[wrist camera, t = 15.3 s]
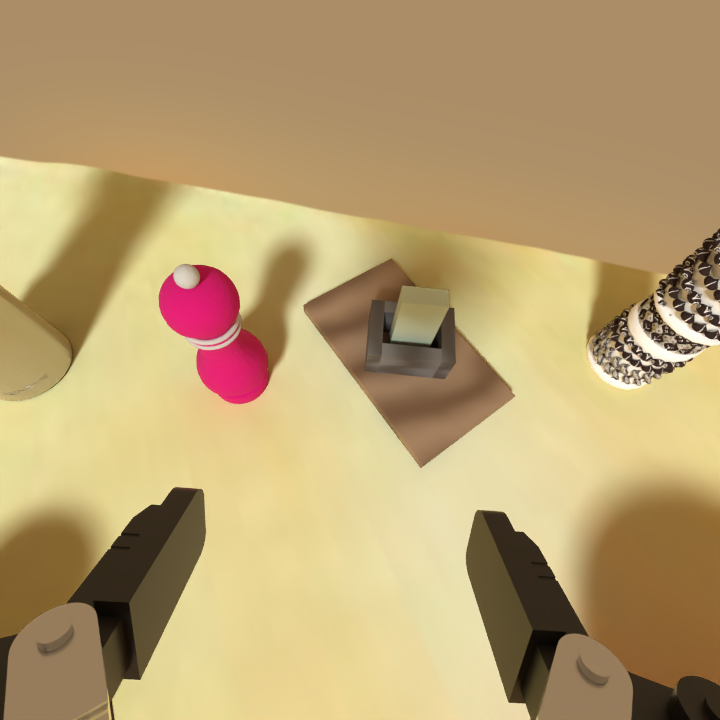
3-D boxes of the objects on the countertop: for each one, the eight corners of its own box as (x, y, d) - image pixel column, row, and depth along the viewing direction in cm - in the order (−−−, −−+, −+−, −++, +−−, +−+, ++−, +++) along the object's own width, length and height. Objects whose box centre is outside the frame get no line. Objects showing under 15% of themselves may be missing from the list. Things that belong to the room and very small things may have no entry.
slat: (386, 354, 46) (402, 302, 36) (387, 340, 47) (402, 285, 37) (424, 358, 46) (449, 307, 36) (423, 343, 47) (448, 289, 37)
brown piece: (420, 468, 42) (433, 456, 37) (304, 311, 50) (300, 283, 44) (510, 400, 46) (533, 381, 41) (389, 265, 54) (396, 234, 48)
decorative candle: (575, 326, 51) (764, 157, 29) (642, 330, 52) (878, 167, 29) (591, 390, 47) (824, 250, 25) (663, 394, 48) (955, 260, 25)
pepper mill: (278, 399, 44) (242, 299, 26) (214, 415, 43) (130, 322, 25) (266, 345, 47) (227, 222, 29) (206, 359, 46) (125, 239, 28)
